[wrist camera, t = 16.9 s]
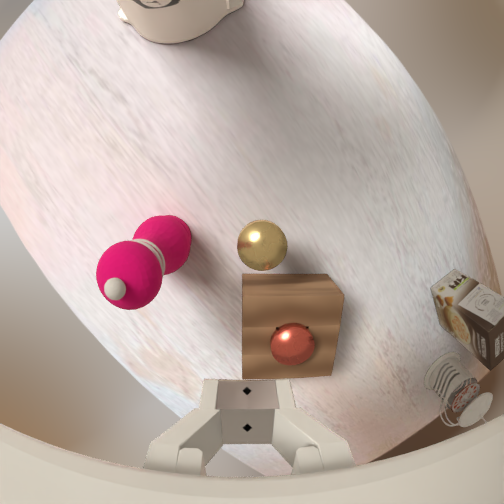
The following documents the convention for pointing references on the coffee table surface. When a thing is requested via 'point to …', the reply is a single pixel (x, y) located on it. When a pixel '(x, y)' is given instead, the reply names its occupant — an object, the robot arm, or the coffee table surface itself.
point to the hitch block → (289, 311)
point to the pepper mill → (143, 261)
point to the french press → (449, 379)
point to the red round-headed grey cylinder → (292, 344)
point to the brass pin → (262, 245)
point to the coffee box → (471, 316)
